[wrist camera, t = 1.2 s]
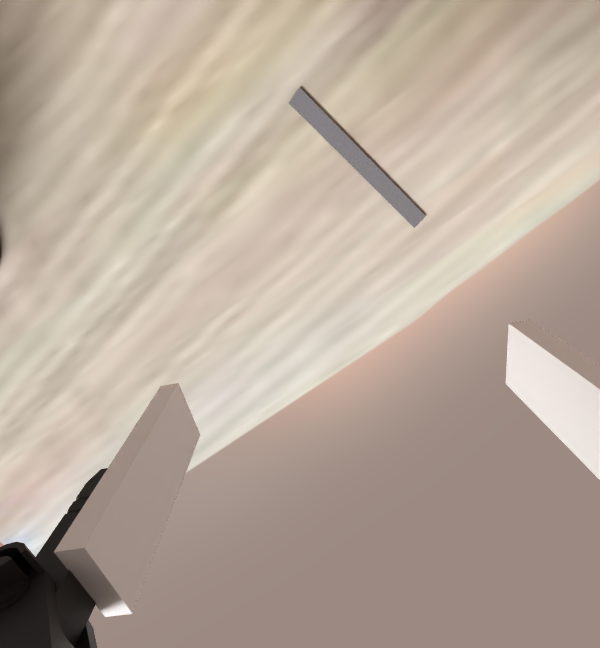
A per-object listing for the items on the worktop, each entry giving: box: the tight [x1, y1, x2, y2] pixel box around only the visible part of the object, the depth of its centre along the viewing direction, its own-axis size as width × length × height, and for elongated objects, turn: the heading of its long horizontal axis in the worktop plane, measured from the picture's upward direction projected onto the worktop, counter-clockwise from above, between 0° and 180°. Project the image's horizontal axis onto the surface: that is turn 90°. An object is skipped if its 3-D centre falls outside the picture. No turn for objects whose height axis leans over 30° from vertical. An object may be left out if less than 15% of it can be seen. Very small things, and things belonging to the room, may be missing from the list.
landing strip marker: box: [289, 88, 425, 227], centre depth 35 cm, size 18×2×1 cm, turn 50°
